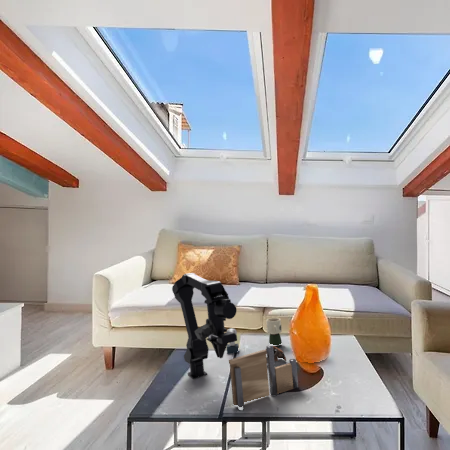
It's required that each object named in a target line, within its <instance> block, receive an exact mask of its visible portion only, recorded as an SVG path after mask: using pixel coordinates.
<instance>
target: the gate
mask: <svg viewBox="0 0 450 450" xmlns="http://www.w3.org/2000/svg"><path fill="white" fill-rule="evenodd" d="M266 357H267V351H266V349H261V350H258V351H254V352H251V353H248V354H244V355H241V356H238V357H234V358H229V359H228V364H229V371H230V381H231V382H230V383H231V396H232V404H234V405H237V396H236V384H235V373H234V367H237V366H239V367H240V368H241V378H242V390H243V401H244V402H247V401H251V400H254V399H258V398H261V397H264V398H266V397H265V396H267V397H269V396H270V385H269V373H268V364H267V360H266ZM261 399H262V398H261Z"/></svg>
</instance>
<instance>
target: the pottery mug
mask: <svg viewBox="0 0 450 450" xmlns="http://www.w3.org/2000/svg"><path fill="white" fill-rule="evenodd" d="M265 350H266V351H267V349H266V348H265ZM273 351H274V363H275V362H279V360H278V358H283V359H284V360H283V361H287V358H286V355H285V353H284V351H283V350H282V349H280V348H279V347H278V346H277V347H275V346H273ZM266 360H267V356H266ZM267 365H268V361H267Z"/></svg>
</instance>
